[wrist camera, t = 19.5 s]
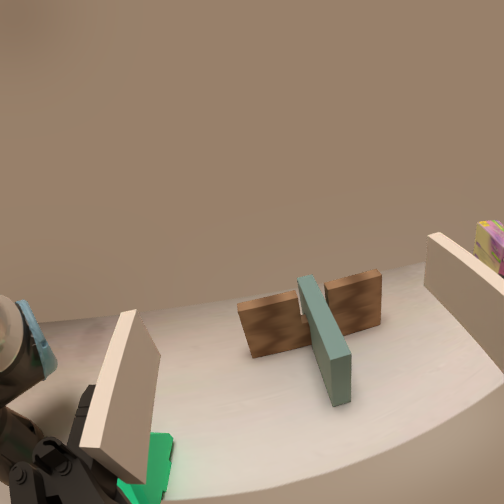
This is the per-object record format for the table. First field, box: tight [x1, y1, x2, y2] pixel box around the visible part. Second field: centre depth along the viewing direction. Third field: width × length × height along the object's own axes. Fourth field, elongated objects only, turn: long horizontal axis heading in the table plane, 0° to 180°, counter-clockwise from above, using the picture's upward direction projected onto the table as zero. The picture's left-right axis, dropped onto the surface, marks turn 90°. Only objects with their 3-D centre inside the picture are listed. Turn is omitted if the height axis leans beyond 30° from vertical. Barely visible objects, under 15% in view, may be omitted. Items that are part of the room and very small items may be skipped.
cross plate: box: [297, 275, 351, 407], centre depth 42 cm, size 2×18×10 cm, turn 5°
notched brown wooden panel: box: [237, 269, 382, 358], centre depth 46 cm, size 22×2×10 cm, turn 95°
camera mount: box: [117, 432, 173, 504], centre depth 28 cm, size 12×8×10 cm, turn 178°
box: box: [473, 220, 504, 275], centre depth 43 cm, size 10×6×12 cm, turn 171°
